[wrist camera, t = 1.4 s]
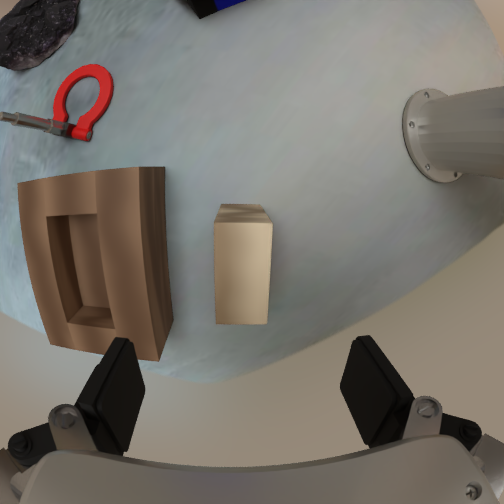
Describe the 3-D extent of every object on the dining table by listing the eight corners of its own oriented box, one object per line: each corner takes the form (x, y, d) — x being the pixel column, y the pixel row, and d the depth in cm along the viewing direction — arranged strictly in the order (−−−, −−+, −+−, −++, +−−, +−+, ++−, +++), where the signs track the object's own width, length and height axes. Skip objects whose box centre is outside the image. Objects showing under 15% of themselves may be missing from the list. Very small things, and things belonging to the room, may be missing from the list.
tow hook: (74, 65, 21) (47, 132, 23) (16, 29, 9) (-24, 122, 11) (126, 70, 23) (96, 144, 25) (75, 20, 10) (24, 130, 12)
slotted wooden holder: (164, 166, 26) (138, 166, 19) (173, 320, 32) (158, 361, 24) (59, 176, 25) (17, 183, 18) (78, 312, 31) (50, 344, 23)
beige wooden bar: (259, 204, 28) (272, 223, 19) (256, 280, 31) (266, 329, 21) (221, 203, 28) (214, 222, 18) (221, 279, 30) (216, 329, 21)
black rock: (101, -9, 18) (71, -44, 8) (60, 66, 20) (13, 40, 11) (42, 11, 17) (10, -11, 7) (7, 80, 20) (-34, 66, 10)
